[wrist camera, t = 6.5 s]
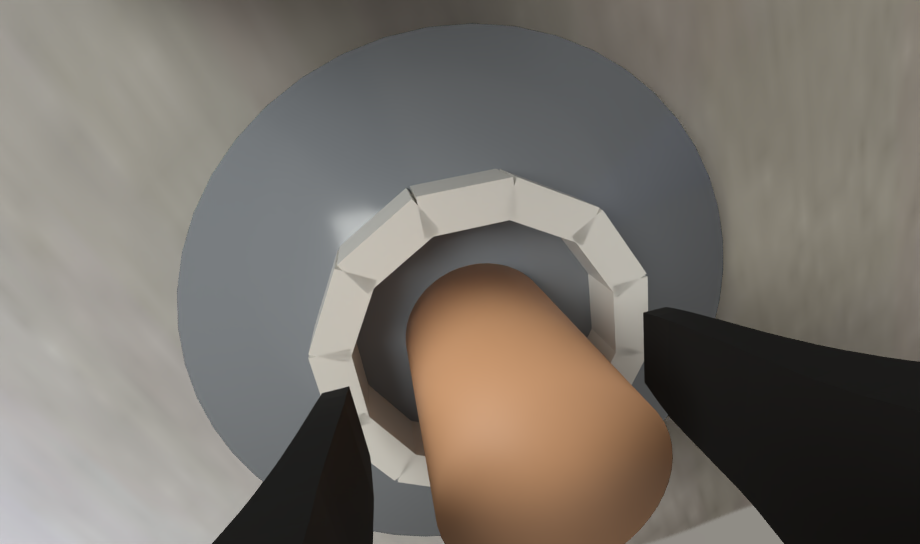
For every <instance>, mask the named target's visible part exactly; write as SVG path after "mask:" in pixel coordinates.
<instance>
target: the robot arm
mask: <svg viewBox="0 0 920 544" xmlns="http://www.w3.org/2000/svg"><path fill="white" fill-rule="evenodd" d="M643 332H644V382H645V384H646V385H647V387H648V388H649V390H650V391H651V392H652V394H653V395H654V397H655V398H656V400H657V401H658V402H659V404H660V405H661V406H662V408H663V409H664V410H665V412H666V413H667V414H668V416H669V417H670V418H671V419H672V420H673V421H674V422H675V423H676V424H677V425H678V426H679V427H680V428H681V430H682V431H683V432H684V433H685V434H686V435H687V436H688V437H689V438H690V439H691V440H692V441H693V442H694V443H695V444H696V445H697V446H698V447H699V448H700V449H701V450H702V452H703V453H704V454H705V455H706V456H707V457H708V458H709V459H710V460H711V461H712V462H713V463H714V464H715V465H716V466H717V467H718V468H719V469H720V470H721V471H722V472H723V473H724V474H725V475H726V476H727V477H728V478H729V480H730V481H731V482H732V483H733V484H734V485H735V486H736V487H737V488H738V489H739V490H740V491H741V492H742V493H743V494H744V495H745V497H746V498H747V499H748V500H749V501H750V502H751V503H752V504H753V506H754V507H755V508H756V509H757V510H758V512H759V513H760V514H761V515H762V516H763V518H764V519H765V520H766V522H767V523H768V524H769V525H770V527H771V528H772V529H773V530H774V532H775V533H776V534H777V535H778V536H779V538H780V539H781V540H782V542H783V543H784V544H920V362H917V361H908V360H901V359H894V358H887V357H880V356H875V355H869V354H863V353H858V352H852V351H846V350H840V349H835V348H830V347H825V346H821V345H816V344H812V343H807V342H803V341H799V340H795V339H790V338H786V337H782V336H778V335H774V334H770V333H766V332H762V331H759V330H755V329H751V328H747V327H744V326H740V325H737V324H733V323H729V322H726V321H722V320H719V319H715V318H711V317H708V316H704V315H700V314H697V313H693V312H689V311H685V310H680V309H676V308H670V307H663V308H659V309H655V310H651V311H647V312H643ZM373 519H374V492H373V479H372V468H371V457H370V454H369V450H368V447H367V444H366V440H365V437H364V434H363V430H362V427H361V424H360V420H359V417H358V414H357V410H356V407H355V404H354V401H353V397H352V394H351V391H350V387H349V386H348V387H344V388H340V389H336V390H332V391H328V392H325V393H322V394H321V396H320V397H319V399H318V400H317V402H316V403H315V405H314V406H313V408H312V410H311V411H310V413H309V414H308V416H307V418H306V419H305V421H304V422H303V424H302V426H301V427H300V429H299V430H298V432H297V434H296V435H295V437H294V438H293V440H292V441H291V443H290V444H289V446H288V447H287V449H286V450H285V452H284V453H283V455H282V456H281V458H280V459H279V461H278V462H277V464H276V465H275V466H274V468H273V469H272V471H271V472H270V473H269V475H268V476H267V477H266V479H265V480H264V481H263V483H262V484H261V486H260V487H259V488H258V490H257V491H256V492H255V494H254V495H253V496H252V497H251V499H250V500H249V501H248V503H247V504H246V505H245V506H244V507H243V509H242V510H241V511H240V512H239V513H238V515H237V516H236V517H235V518H234V519H233V520H232V522H231V523H230V524H229V525H228V526H227V527H226V528H225V530H224V531H223V532H222V533H221V534H220V535H219V536H218V538H217V539H216V540H215V541H214V542H213V543H212V544H373Z"/></svg>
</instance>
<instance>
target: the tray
mask: <svg viewBox="0 0 920 544" xmlns="http://www.w3.org/2000/svg"><path fill="white" fill-rule="evenodd" d="M481 263H492V264H500V265H504V266H508V267H511V268H513V269H516V270H518V271H520V272H522V273H523V274H525V275H526V276H528V277H529V278H530V279H531V280H533V281H534V283H535V284H536V285H537V286H538V287H539V288H540V289H541V290H542V291H543V292H544V293H545V294H546V295H547V296H548V297H549V298H550V299H551V300H552V302H553V303H554V304H555V305H556V306H557V307H558V308H559V309H560V310H561V311H562V312H563V313H564V314H565V315H566V316H567V317H568V318H569V319H570V321H571V322H572V323H573V324H574V325H575V326H576V327H577V328H578V329H579V330H580V331H581V332H582V333H583V334H584V335H585V336H586V337H587V338H588V340H589V341H590V342H591V343H592V344H593V345H594V346H595V347H596V348H597V349H598V350H599V351H600V352H601V353H602V354H603V355H604V356H605V357H606V359H607V360H608V361H609V362H610V363H611V364H612V365H613V366H614V367H615V368H616V369H617V370H618V371H619V372H620V373H621V374H622V375H623V376H624V378H625V379H626V380H627V381H628V382H629V383H630V384H631V385H632V386H633V387H634V388H635V389H636V390H637V391H638V392H639V393H640V394H641V395H642V397H643V398H644V399H645V400H646V401H647V402H648V403H649V404H650V405H651V406H652V407H653V408H654V409H655V410H656V411H657V412H658V414H659V415H660V417H661V418H662V420H663V421H664V420H665V418H666V417H667V416H668V414H667V413H666V412H665V410H664V409H663V408H662V406H661V405H660V404H659V402H658V401H657V400H656V398H655V397H654V395H653V394H652V392H651V391H650V390H649V388H648V387H647V385H646V384H645V382H644V332H643V312H647V311H651V310H655V309H659V308H663V307H670V308H676V309H680V310H685V311H689V312H693V313H697V314H700V315H704V316H708V317H711V318H715V317H716V312H717V308H718V304H719V300H720V291H721V283H722V274H723V238H722V231H721V224H720V217H719V211H718V206H717V202H716V199H715V195H714V192H713V189H712V185H711V182H710V178H709V176H708V173H707V171H706V169H705V167H704V165H703V162H702V160H701V158H700V156H699V154H698V151H697V149H696V147H695V145H694V144H693V142H692V141H691V139H690V138H689V136H688V135H687V133H686V132H685V130H684V129H683V127H682V126H681V124H680V122H679V121H678V119H677V118H676V117H675V116H674V115H673V114H672V112H671V111H670V110H669V109H668V108H667V107H666V106H665V105H664V103H663V102H662V101H661V100H660V99H659V98H658V97H657V96H656V95H655V93H654V92H653V91H651V90H650V89H649V88H648V87H646V86H645V85H644V84H643V83H642V82H640V81H639V80H638V79H637V78H635V77H634V76H633V75H632V74H631V73H629V72H628V71H627V70H626V69H624V68H622V67H621V66H619V65H617V64H616V63H614V62H612V61H610V60H609V59H607V58H605V57H604V56H602V55H600V54H599V53H597V52H595V51H593V50H591V49H589V48H586V47H584V46H581V45H579V44H576V43H574V42H571V41H569V40H566V39H563V38H561V37H558V36H556V35H552V34H547V33H543V32H538V31H534V30H529V29H525V28H520V27H516V26H503V25H489V24H474V23H471V24H459V25H447V26H435V27H426V28H422V29H418V30H414V31H409V32H405V33H401V34H397V35H392V36H388V37H384V38H382V39H379V40H377V41H374V42H372V43H369V44H367V45H364V46H362V47H359V48H356V49H354V50H351V51H349V52H346V53H344V54H342V55H340V56H338V57H336V58H335V59H333V60H331V61H330V62H328V63H326V64H324V65H323V66H321V67H319V68H318V69H316V70H314V71H312V72H311V73H309V74H307V75H305V76H304V77H302V78H301V79H300V80H298V81H297V82H296V83H295V84H293V85H292V86H291V87H290V88H288V89H287V90H286V91H285V92H283V93H282V94H281V95H280V96H278V97H277V98H276V99H275V100H273V101H272V102H271V103H270V104H268V105H267V106H266V107H265V108H264V109H263V110H262V111H261V112H260V114H259V115H258V116H257V117H256V118H255V119H254V120H253V121H252V122H251V123H250V124H249V125H248V127H247V128H246V129H245V130H244V131H243V132H242V133H241V134H240V135H239V136H238V137H237V138H236V140H235V141H234V143H233V144H232V146H231V147H230V149H229V150H228V152H227V153H226V155H225V156H224V157H223V159H222V160H221V162H220V163H219V165H218V166H217V168H216V169H215V171H214V172H213V174H212V175H211V177H210V179H209V182H208V184H207V186H206V188H205V190H204V192H203V194H202V196H201V199H200V201H199V203H198V205H197V207H196V209H195V211H194V213H193V217H192V220H191V224H190V227H189V230H188V234H187V237H186V241H185V244H184V248H183V251H182V257H181V264H180V272H179V280H178V288H177V305H178V330H179V336H180V341H181V346H182V351H183V356H184V361H185V366H186V368H187V371H188V374H189V377H190V380H191V382H192V385H193V388H194V391H195V393H196V396H197V398H198V400H199V402H200V404H201V406H202V408H203V409H204V411H205V413H206V415H207V417H208V419H209V420H210V422H211V424H212V426H213V428H214V429H215V430H216V432H217V433H218V434H219V435H220V437H221V438H222V439H223V441H224V442H225V443H226V445H227V446H228V447H229V449H230V450H231V451H232V453H233V454H234V455H235V456H236V457H237V458H238V459H239V460H240V461H241V462H242V463H243V464H244V465H245V466H246V467H247V468H248V469H249V470H250V471H251V472H252V473H253V474H254V475H255V476H257V477H258V478H259V479H261V480H262V481H264V480H265V479H266V477H267V476H268V475H269V473H270V472H271V471H272V469H273V468H274V466H275V465H276V464H277V462H278V461H279V459H280V458H281V456H282V455H283V453H284V452H285V450H286V449H287V447H288V446H289V444H290V443H291V441H292V440H293V438H294V437H295V435H296V434H297V432H298V430H299V429H300V427H301V426H302V424H303V422H304V421H305V419H306V418H307V416H308V414H309V413H310V411H311V410H312V408H313V406H314V405H315V403H316V402H317V400H318V399H319V397H320V396H321V394H322V393H325V392H328V391H332V390H336V389H340V388H344V387H348V386H349V387H350V391H351V394H352V397H353V401H354V404H355V407H356V410H357V414H358V417H359V420H360V424H361V427H362V430H363V434H364V437H365V440H366V444H367V447H368V450H369V454H370V457H371V468H372V479H373V492H374V519H373V531H375V532H381V533H387V534H393V535H408V536H441V535H440V532H439V529H438V526H437V522H436V516H435V510H434V505H433V499H432V493H431V487H430V481H429V476H428V470H427V464H426V458H425V452H424V447H423V441H422V435H421V429H420V423H419V418H418V412H417V406H416V400H415V394H414V389H413V383H412V377H411V371H410V365H409V360H408V354H407V347H406V328H407V323H408V319H409V316H410V313H411V311H412V309H413V307H414V305H415V303H416V302H417V300H418V299H419V297H420V296H421V295H422V294H423V292H424V291H425V290H426V289H427V288H428V287H429V286H430V285H431V284H432V283H433V282H435V281H436V280H438V279H439V278H440V277H442V276H444V275H445V274H447V273H449V272H451V271H453V270H456V269H458V268H461V267H464V266H468V265H473V264H481Z"/></svg>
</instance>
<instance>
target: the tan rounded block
mask: <svg viewBox="0 0 920 544" xmlns="http://www.w3.org/2000/svg"><path fill="white" fill-rule="evenodd" d="M406 347H407V354H408V360H409V365H410V371H411V377H412V383H413V389H414V394H415V400H416V406H417V412H418V418H419V423H420V429H421V435H422V441H423V447H424V452H425V458H426V464H427V470H428V476H429V481H430V487H431V493H432V499H433V505H434V510H435V516H436V522H437V526H438V529H439V532H440V535H441V538H442V539H443V541H444V543H445V544H625V543H626V542H627V541H628V540H630V539H631V538H632V537H633V536H634V535H635V534H636V533H637V532H638V531H639V530H640V529H641V528H642V527H643V525H644V524H645V523H646V522H647V521H648V519H649V518H650V517H651V515H652V514H653V512H654V511H655V509H656V508H657V506H658V505H659V503H660V501H661V499H662V497H663V495H664V493H665V490H666V487H667V485H668V482H669V478H670V474H671V470H672V459H673V455H672V444H671V439H670V435H669V432H668V430H667V427H666V425H665V423H664V421H663V420H662V418H661V417H660V415H659V414H658V412H657V411H656V410H655V409H654V408H653V407H652V406H651V405H650V404H649V403H648V402H647V401H646V400H645V399H644V398H643V397H642V395H641V394H640V393H639V392H638V391H637V390H636V389H635V388H634V387H633V386H632V385H631V384H630V383H629V382H628V381H627V380H626V379H625V378H624V376H623V375H622V374H621V373H620V372H619V371H618V370H617V369H616V368H615V367H614V366H613V365H612V364H611V363H610V362H609V361H608V360H607V359H606V357H605V356H604V355H603V354H602V353H601V352H600V351H599V350H598V349H597V348H596V347H595V346H594V345H593V344H592V343H591V342H590V341H589V340H588V338H587V337H586V336H585V335H584V334H583V333H582V332H581V331H580V330H579V329H578V328H577V327H576V326H575V325H574V324H573V323H572V322H571V321H570V319H569V318H568V317H567V316H566V315H565V314H564V313H563V312H562V311H561V310H560V309H559V308H558V307H557V306H556V305H555V304H554V303H553V302H552V300H551V299H550V298H549V297H548V296H547V295H546V294H545V293H544V292H543V291H542V290H541V289H540V288H539V287H538V286H537V285H536V284H535V283H534V281H533V280H531V279H530V278H529V277H528V276H526V275H525V274H523V273H522V272H520V271H518V270H516V269H513V268H511V267H508V266H504V265H500V264H492V263H481V264H473V265H468V266H464V267H461V268H458V269H456V270H453V271H451V272H449V273H447V274H445V275H444V276H442V277H440V278H439V279H438V280H436V281H435V282H433V283H432V284H431V285H430V286H429V287H428V288H427V289H426V290H425V291H424V292H423V294H422V295H421V296H420V297H419V299H418V300H417V302H416V303H415V305H414V307H413V309H412V311H411V313H410V316H409V319H408V323H407V328H406Z"/></svg>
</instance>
